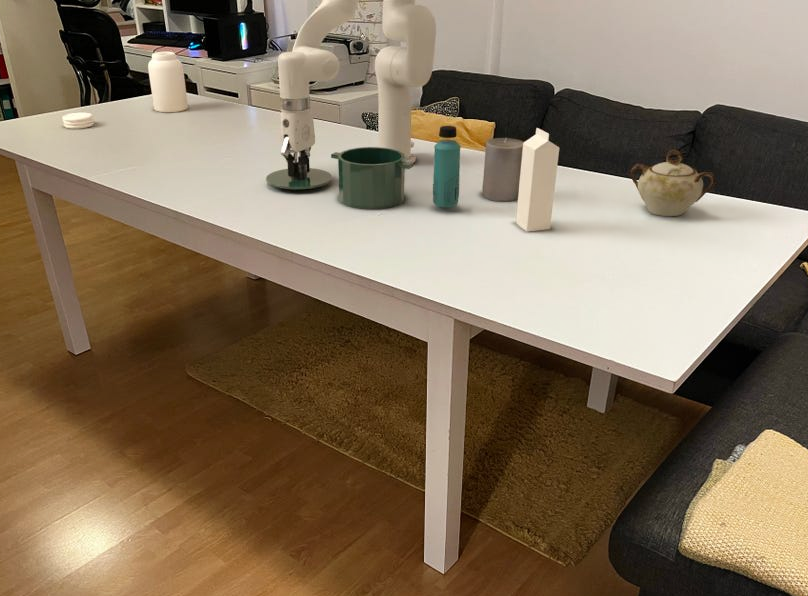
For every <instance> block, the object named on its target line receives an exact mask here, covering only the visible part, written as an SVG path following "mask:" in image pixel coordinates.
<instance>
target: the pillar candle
mask: <svg viewBox="0 0 808 596" xmlns="http://www.w3.org/2000/svg"><path fill="white" fill-rule="evenodd" d="M524 142H525V141H523V140H520V139H516V138H510V137H507V136H506V137H496V138H490V139H488V140H487V141H486V142H485V149H484V150H485V153H484V165H483V177H482V193H481V195H482V197H483V198H485V199H487V200H490V201H495V202H499V201H500V202H502V201H503V202H511V201H515V200H518V194H519V183H520V172H521V162H522V151H523V143H524Z"/></svg>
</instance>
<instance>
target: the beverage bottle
mask: <svg viewBox="0 0 808 596" xmlns="http://www.w3.org/2000/svg"><path fill="white" fill-rule="evenodd" d="M438 136H439V137H440V138H444V139H441V140H438V141H437V142H436V143H435V145H434V147H433V148H434V152H433V153H434V158H433V159H434V160H433V175H432V177H433V183H432V202H433V205H435V206H436V207H439V208H452V207H456V206H458V205H459V204H458V203H459V202H460V201H459V199H460V183H461V182H460V172H461V171H460V170H461V144H460V143H459V142H458V141H456V140H454V139H453V138H456V137H457V127H456V126H453V125H442V126H440V127H439V132H438Z"/></svg>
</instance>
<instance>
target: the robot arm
mask: <svg viewBox="0 0 808 596" xmlns="http://www.w3.org/2000/svg"><path fill="white" fill-rule="evenodd" d="M359 2H360V0H322V1H321V3H320V4H319V5H318V6H317V7H316V8H315V9H314V11H313V12H312V13H310V15H309V17H308V18H307V19H306V20H305V21H304V23H302V25H301V26H300V27H301V28H300V29H299V31H298V33H297V35H296V38H295V41H294V44H293V47H292V50H291V51H285V52H282V53H280V54H278V57H277V68H278V69H277V70H278V83H279V84H278V85H279V100H280V111H281V112H280V143H281V149H280V155H281V156H283V158H284V159H285V162H286V163H287V164H286V165H287V169H288V176H289V177H295V178H298V177H299V162H305V163H307V173H308V172H310V168H311V167H310V166H311V165H310V157H311V149H312V147H314V145H315V144H316V134H315V124H314V115H313V111H312V108H311V97H310V82H321V83H322V82H323V83H325V82H329V81H332V80H333V79H335V78H336V77H337V76H338V74H339V71H340V68H341V67H340V61H339V59H338V57H337V56H336V54H335V53H333V52H331V51H330V50H326V49H321V48H320V47H321V44H322V43H323V41H324V39H325V38H326V37H327V36H328V35H329V34H330V33H331V32H332V31H333V30H336V28H338V27H340V26H342V25H344V24H346V23H347V22H349V21H351V19H353V18H354V16H355V13H356V11H357V8H358V5H359ZM381 18H382V19H381V28H382V33H383V35H384V36H385V37H386V38H387V39H388V40H391V41H395V42H400V43H406V47H403V46H398V45H389V46H384V47H383V48H381V50H379V51H378V52H377V54H376V56H375V59H374V72H375V73H374V74H375V78H376V83H377V92H378V94H377V96H378V99H377V101H378V106H377V107H378V111H377V112H378V114H377V116H378V120H377V121H378V122H377V123H378V131H377V132H378V133H377V134H378V147H382V148H390V149H394V150H398V151H400V152H402V153H403V154H404V156H405V162H410V163H413V164H414V163H415V162H416V161H417V157H416V155H415V154H414V153H412V152H411V150H412V148H414V147H415V142H414V141H412V107H413V106H412V105H413V103H412V101H413V100H412V93H411V89H410V87H411V88H421V87H424V86H425V85H427V84H428V82H429V81H430V80H431V79H430V78H431V77H432V73H433V69H434V61H435V59H434V58H435V49H436V37H437V22H436V18H435V16H434V13H433V12H432V11H431V9H430V8H428V7H427V6H425V5H421V4H416V0H383V2H382V17H381ZM292 154H293V155H292ZM298 155H299V156H298Z"/></svg>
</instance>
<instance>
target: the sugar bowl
mask: <svg viewBox="0 0 808 596" xmlns="http://www.w3.org/2000/svg"><path fill="white" fill-rule="evenodd" d="M672 154H674V155H677V157H678V158H677V159H675V160H671V158H670V155H672ZM665 157H666V159H665V160H666V161H665V162H664V161H663V162H661V163H660V162H659V163H657V164H654V165H651V166H647V165H646V164H644V163H643V164H642V163H638V162H637V163H636V164H634V165H633V166H632V167H631V169H630V172H629V175H630V178H631V180H632V182H633V183H634V185H635V187H636V189H637V191H638V194H639V196H640V198H641V200H642V202H643V203H644V205H645V207H646V209H647V211H648V212H649V213H651V214H653V215H657V216H661V217H678V216H681V215H683V214H684V213H685V212H686V211H688V210H689V208H691V207H692V206H693V205H694V204H695V203H697V202H699V201H700V200H701V199H702V198H703V197H704V195H706V194H707V193H708V192H710V191H711V190H712V189H713V187H714V186H715V184H716V178H715V175H714V174H713V173H712V172H711V171H704V172H700V173H699V172H698V170H697V169H695V168H693V166H689V165H687V164H686V163H681V162H682V160H683V155H682V153H680V152H679V150H677V149H671V150H669V151H668V152H667V153H666V156H665ZM637 169H639V170H641V171H642V173H641V175H640V176H639V179H638V180H637V178H636V176H635V172H636V170H637ZM703 177H708V178H709V179H710V184H709V185H708V187H707V188H705V189H704V181H703V179H702V178H703Z"/></svg>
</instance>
